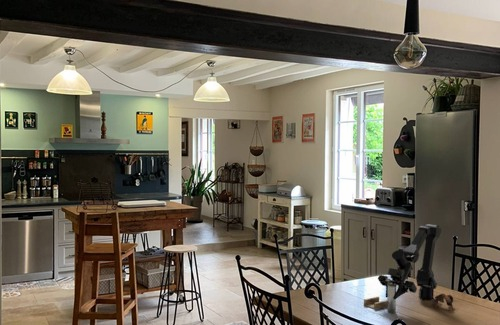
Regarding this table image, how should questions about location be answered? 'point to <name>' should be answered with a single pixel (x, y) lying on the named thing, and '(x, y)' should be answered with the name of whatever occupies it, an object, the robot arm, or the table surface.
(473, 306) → the table surface
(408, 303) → the table surface
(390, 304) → the pin
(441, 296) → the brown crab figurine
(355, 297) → the table surface
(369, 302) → the slot block
